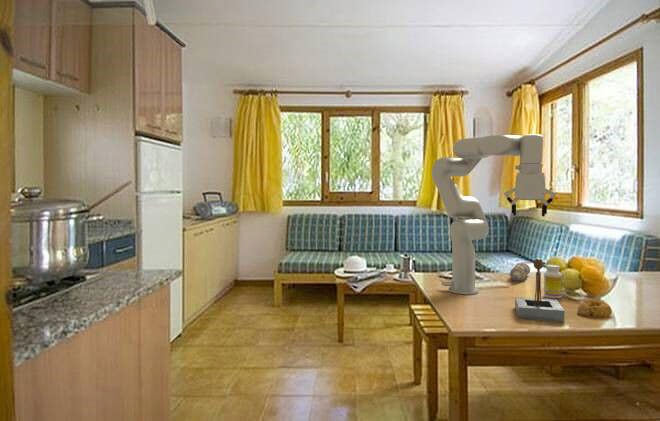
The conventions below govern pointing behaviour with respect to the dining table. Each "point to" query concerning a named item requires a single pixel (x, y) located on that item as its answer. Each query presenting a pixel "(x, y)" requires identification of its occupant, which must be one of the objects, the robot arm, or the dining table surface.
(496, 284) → the dining table surface
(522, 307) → the tray
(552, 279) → the supplement bottle
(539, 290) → the wooden tabletop sculpture
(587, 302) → the bagel
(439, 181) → the robot arm
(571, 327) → the dining table surface
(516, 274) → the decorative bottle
